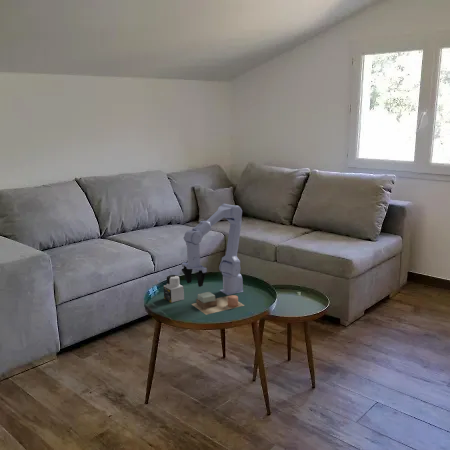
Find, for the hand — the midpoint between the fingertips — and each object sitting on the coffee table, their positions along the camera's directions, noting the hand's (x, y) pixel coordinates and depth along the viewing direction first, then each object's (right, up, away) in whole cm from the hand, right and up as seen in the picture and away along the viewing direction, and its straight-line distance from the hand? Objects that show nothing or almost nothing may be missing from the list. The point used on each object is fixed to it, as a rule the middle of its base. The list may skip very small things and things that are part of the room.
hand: (194, 284), depth 226 cm
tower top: (+5, -7, -1) cm, 9 cm away
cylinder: (+18, -9, -2) cm, 20 cm away
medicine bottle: (-11, -9, +9) cm, 16 cm away
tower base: (+5, -9, -1) cm, 11 cm away
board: (+11, -10, 0) cm, 14 cm away
